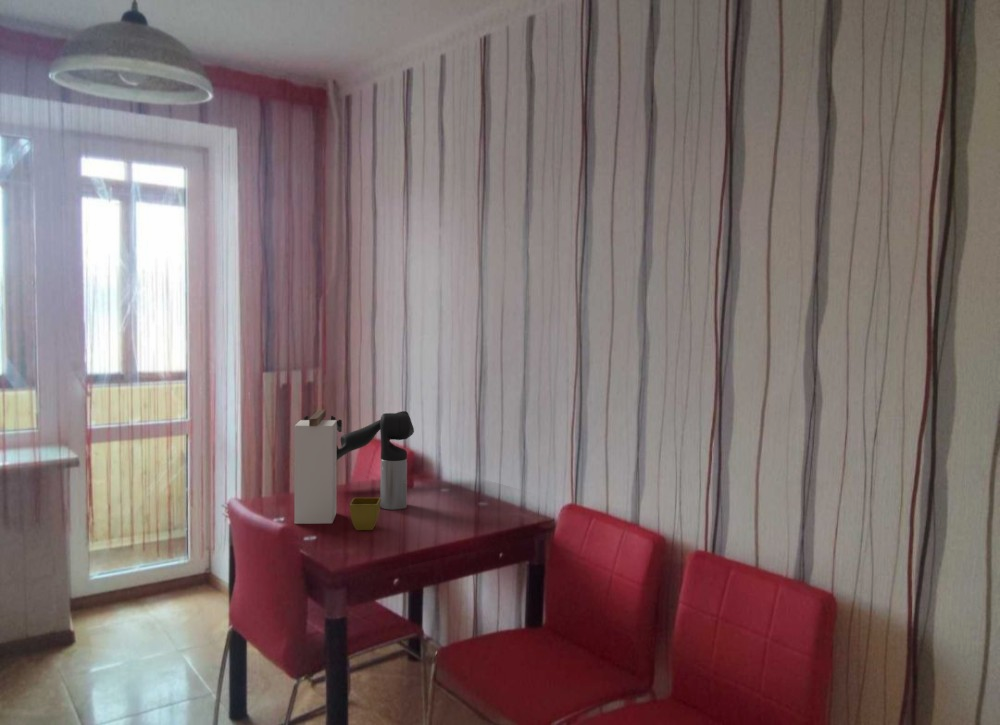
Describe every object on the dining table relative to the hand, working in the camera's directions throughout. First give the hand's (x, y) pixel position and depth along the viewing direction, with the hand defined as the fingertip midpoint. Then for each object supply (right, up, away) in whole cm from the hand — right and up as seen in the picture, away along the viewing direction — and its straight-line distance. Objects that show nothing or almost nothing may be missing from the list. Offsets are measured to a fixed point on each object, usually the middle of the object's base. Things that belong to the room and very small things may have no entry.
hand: (319, 418), depth 259 cm
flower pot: (+20, -34, -21) cm, 44 cm away
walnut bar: (+2, 0, -9) cm, 9 cm away
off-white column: (+1, -33, -10) cm, 34 cm away
